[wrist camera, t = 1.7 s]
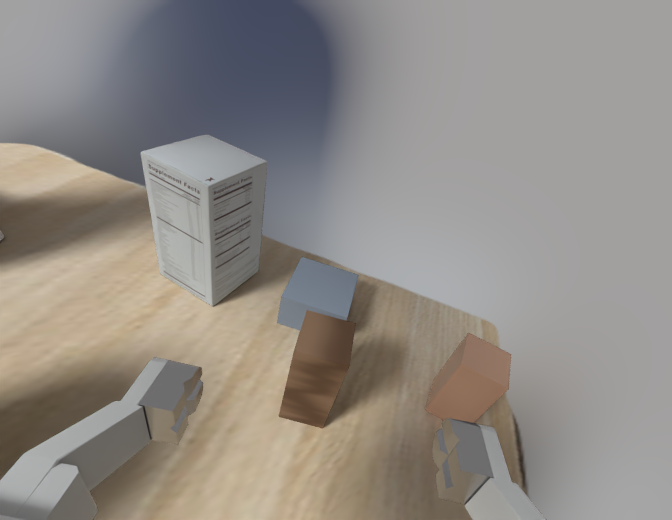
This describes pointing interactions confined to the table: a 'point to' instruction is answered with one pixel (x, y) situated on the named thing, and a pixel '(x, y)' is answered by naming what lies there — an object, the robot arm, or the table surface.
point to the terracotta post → (470, 381)
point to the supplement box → (206, 214)
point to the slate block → (316, 293)
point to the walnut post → (317, 368)
